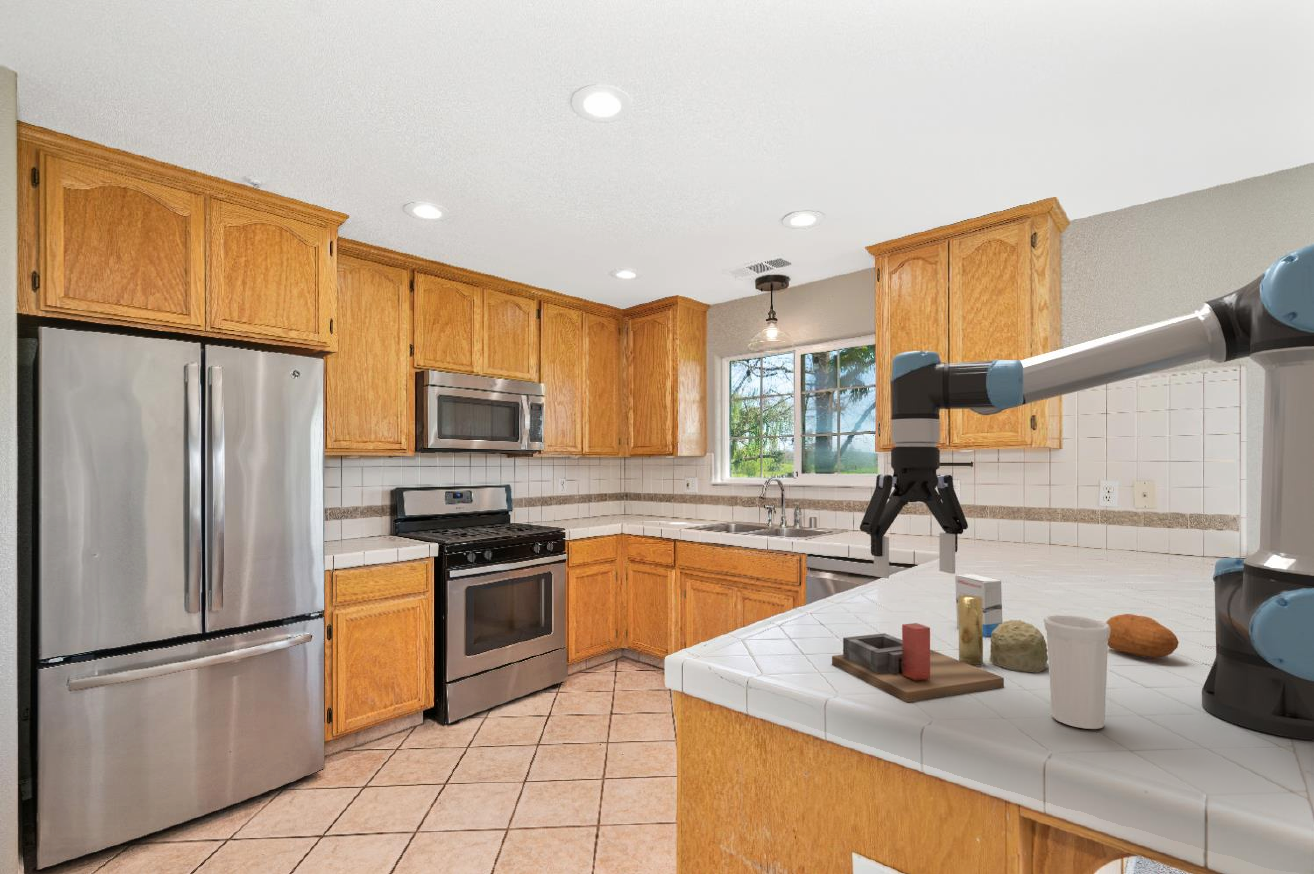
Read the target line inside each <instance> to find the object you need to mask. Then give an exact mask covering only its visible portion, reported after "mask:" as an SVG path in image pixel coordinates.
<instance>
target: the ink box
mask: <svg viewBox="0 0 1314 874" xmlns="http://www.w3.org/2000/svg"><path fill="white" fill-rule="evenodd" d="M959 595H975V596H979V597H982V605H983V637H984V638H988V637H989V638H990V637H991V634H992V631H994V630H995V629H996V628H997V627H998V625H999V624H1001V623H1003V622H1004V621H1003V602H1002V601H1003V599H1002V598H1003V597H1002V596H1003V595H1002V580H1000V579H995V578H990V577H987V576H982V575H977V574H973V573H969V574H967V573H965V574H956V575H955V603H956V604H955V607H956V628H957V629H959V615H958V596H959Z"/></svg>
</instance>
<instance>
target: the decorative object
mask: <svg viewBox="0 0 1314 874" xmlns="http://www.w3.org/2000/svg"><path fill="white" fill-rule="evenodd" d="M1002 622H1003V623H1001V624H999V625H998V627H997V628H996V629H995V630H994V631H992V634H991V636H990V645H989V646H990V650H989V652H990V656H989V662H990V663H991V664H993V665H994V666H998V667H1001V668H1004V669H1008V670H1011V671H1017V672H1026V673H1027V672H1028V673H1039V672H1043V671H1045V669H1046V668H1047V664H1048V661H1049V660H1048V645H1047V641H1046V639H1045V637H1044V635H1043V634H1042V632H1041V630H1039V629H1038V627H1035V626H1034V625H1033V624H1032V623H1029V622H1028V623H1027V622H1025V621H1024V620H1023V621H1022V620H1021V619H1015V620H1014V619H1011V620H1010V619H1009V620H1004V621H1002Z"/></svg>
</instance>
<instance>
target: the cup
mask: <svg viewBox="0 0 1314 874" xmlns="http://www.w3.org/2000/svg"><path fill="white" fill-rule="evenodd" d="M1043 622H1044V629H1045V631H1046V640H1047V641H1046V644H1047V650H1048V651H1047V655H1048V660H1047V661H1048V672H1049V673H1048V674H1049V685H1050V686H1049V688H1050V689H1049V690H1050V703H1051V705H1050V706H1051V716H1052V718H1053V719H1055V720H1056V721H1058V722H1060V723H1063V724H1064V725H1067V726H1071V727H1073V728H1081V729H1086V730H1087V729H1089V730H1098V729H1102V728H1103V727H1105V716H1106V715H1105V713H1106V696H1107V695H1106V694H1107V692H1106V691H1107V674H1108V673H1107V671H1108V669H1107V668H1108V652H1109V651H1108V650H1109V649H1108V648H1109V646H1108V639H1109V637H1110V631H1111V628H1110V626H1109V625H1108V624H1107V623H1106V622H1105V621H1102V620H1098V619H1095V618H1090V617H1084V616H1077V615H1070V614H1069V615H1067V614H1066V615H1064V614H1053V615H1050V614H1049V615H1047V616H1044V618H1043Z"/></svg>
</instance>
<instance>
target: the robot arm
mask: <svg viewBox="0 0 1314 874" xmlns="http://www.w3.org/2000/svg"><path fill="white" fill-rule="evenodd" d="M1244 358H1249V359H1251V360H1252V361H1253V362H1255V363H1256V364H1257V365H1259V366H1260V367H1262V369H1263V370H1264V389H1263V390H1264V392H1263V393H1264V395H1263V425H1262V453H1261V455H1262V458H1261V461H1262V462H1261V491H1260V492H1261V494H1260V522H1259V523H1260V524H1259V525H1260V527H1259V529H1260V532H1259V548H1258V549H1257V550H1256V551H1255V552H1254V553H1252V554H1250V556H1248V557H1246V558H1233V557H1231V558H1229V557H1224V558H1220V559H1218V560H1217V561H1216V562H1215V564H1214V574H1213V576H1212V580H1213V582H1214V613H1215V614H1214V615H1215V616H1214V619H1215V624H1214V625H1215V658H1214V661H1213V663H1212V666H1211V668H1210V670H1209V672H1208V674H1207V677H1206V680H1205V682H1204V684H1203V686H1202V689H1201V706H1202V708H1203V709H1204V710H1205V711H1207V712H1208V713H1210V714H1211V715H1213V716H1215V717H1217V718H1219V719H1221V720H1224V721H1226V722H1229V723H1232V724H1235V725H1237V726H1241V727H1243V728H1244V727H1245V728H1248V729H1250V730H1254V731H1259V732H1263V733H1266V734H1271V735H1275V736H1281V737H1285V738H1286V737H1287V738H1293V739H1299V740H1308V741H1314V243H1313V244H1310V245H1306V246H1304V247H1301V248H1299V249H1297V250H1294V251H1292V252H1289V253H1288V254H1285V255H1283V256H1282V257H1280V258H1278V259H1277V260H1276V261H1274V262H1273V263H1272V264H1270V266H1269V267H1268V268H1266V270H1265V272H1263V273H1261V275H1259V276H1258V277H1257V278H1255V279H1254V280H1252V281H1251V282H1250V283H1247V284H1246V285H1244V286H1243V287H1240V288H1238V289H1236V290H1234V291H1232V292H1230V293H1227V294H1225V295H1222V296H1220V297H1217V298H1215V299H1211V300H1210V299H1209V300H1208V301H1204V302H1201V303H1199V304H1198V305H1197V306H1196V308H1195V309H1194V310H1193V311H1192V312H1188V313H1185V314H1181V315H1179V316H1176V317H1172V318H1168V319H1163V320H1160V321H1157V322H1153V323H1149V324H1147V325H1142V326H1139V327H1136V328H1132V329H1128V330H1125V331H1121V332H1118V333H1115V334H1111V335H1108V336H1103V337H1101V338H1096V339H1093V340H1089V341H1086V342H1082V343H1078V344H1075V345H1072V346H1068V347H1065V348H1061V349H1057V350H1054V351H1051V352H1046V353H1042V354H1039V355H1037V356H1032V357H1028V358H1025V359H1021V360H1018V359H1000V358H999V359H997V358H996V359H994V360H993V359H991V360H980V361H965V362H953V363H950V362H946V363H945V362H941V361H942V360H941V358H940V355H939V353H938V352H936V351H931V350H912V351H904V352H900V353H898V354H896V355H894V357H893V358H892V361H891V377H890V413H891V414H890V433H891V434H890V442H891V443H892V444H894V446H892V447H891V448H890V467H891V469H893V474H892V475H891V474H878V475H877V476H876V481H875V489H874V490H873V493H872V496H871V497H870V499H869V500H870V501H869V504H868V506H867V508H866V510H865V513H864V515H863V518H862V520H861V523H860V525H859V531H861V532H864V533H866V534H867V535H869V536H870V554H871V556H873V576H875V577H879V578H883V579H889V578H890V537H889V536H885V534H886V533H887V532H888V530H889V529H890V527H891V526H892V524H893V523H894V522H895V520H896V519H897V517H898V515H899V514H900V512H901V511H902V509H903V508H904V507H905V506H906V505H908V504H909V503H923V504H925V506H927V508H928V509H929V511H930V513H931V514H932V516H933V518H934V519H935V520H936V521H937V523H938V524H939V526H940V527H941V529H942V530H943V531H944V532H939V537H938V538H939V545H938V546H939V557H938V558H939V560H938V562H939V567H938V569H939V572H943V573H947V574H951V575H953V574H954V575H955V574H956V553H957V552H958V535H962V534H964V530H967V529H968V528H969V524H968V521H967V519H966V516H965V514H964V511H963V508H962V507H961V503H960V501H959V499H958V496H957V493H956V491H955V487H954V479H953V476H952V475H951V474H937V470H939V469H940V467H941V459H940V457H941V456H940V455H941V454H940V453H941V450H940V448H939V447H937V445H938V444H939V443H941V437H940V436H941V435H940V434H941V431H940V429H941V428H940V426H941V425H940V424H941V420H940V417H941V416H940V413H941V410H965V409H966V410H967V409H968V410H970V411H972V412H974V413H977V414H978V415H981V416H990V415H996V414H999V413H1002V411H1005V410H1008V409H1009V410H1010V409H1013V408H1018V407H1021V406H1024V405H1028V404H1032V403H1035V402H1039V401H1043V400H1048V399H1052V398H1056V397H1057V398H1058V397H1060V396H1063V395H1064V396H1065V395H1067V394H1068V395H1069V394H1072V393H1076V392H1081V391H1085V390H1088V389H1093V388H1097V387H1100V386H1104V385H1109V384H1113V383H1117V382H1120V381H1125V380H1130V379H1133V378H1137V377H1141V376H1144V375H1145V376H1147V375H1149V374H1153V373H1157V372H1160V371H1161V372H1162V371H1166V370H1169V369H1174V368H1178V367H1181V366H1185V365H1190V364H1194V363H1198V362H1202V361H1206V360H1209V361H1212V362H1215V363H1217V364H1222V363H1226V362H1230V361H1234V360H1240V359H1244ZM892 488H894V489H893V490H892ZM936 488H937V489H936Z"/></svg>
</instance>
